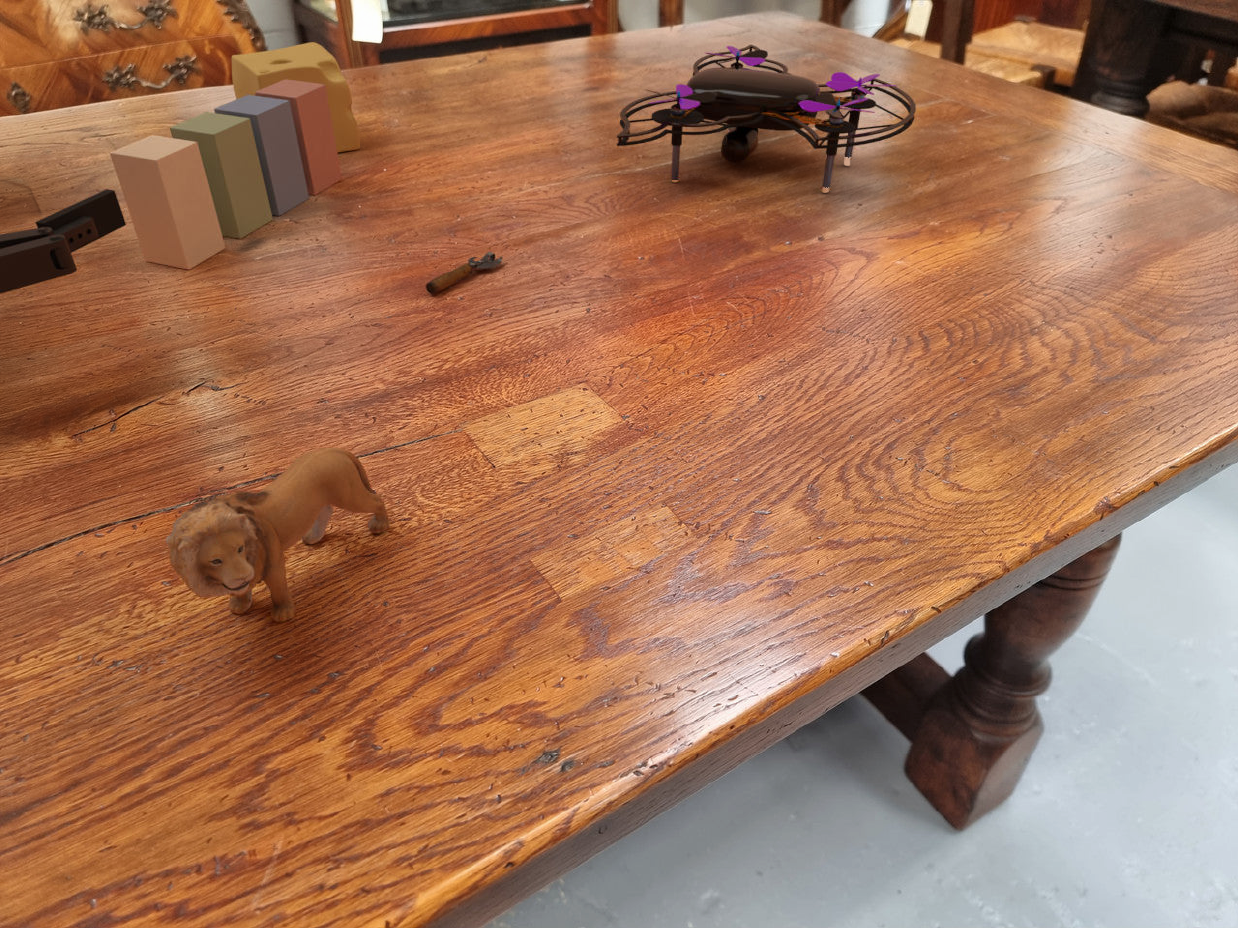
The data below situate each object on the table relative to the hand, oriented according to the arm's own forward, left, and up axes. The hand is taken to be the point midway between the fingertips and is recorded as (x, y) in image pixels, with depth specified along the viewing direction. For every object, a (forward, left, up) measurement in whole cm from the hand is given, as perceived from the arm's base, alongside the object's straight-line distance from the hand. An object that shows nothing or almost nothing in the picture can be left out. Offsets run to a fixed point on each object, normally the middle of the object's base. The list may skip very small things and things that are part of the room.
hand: (47, 194), depth 71 cm
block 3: (0, +24, -10) cm, 26 cm away
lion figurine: (+36, -21, -10) cm, 43 cm away
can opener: (+27, +17, -10) cm, 33 cm away
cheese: (-8, +40, -10) cm, 42 cm away
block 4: (0, +30, -10) cm, 32 cm away
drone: (+46, +54, -10) cm, 72 cm away
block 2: (0, +18, -10) cm, 21 cm away
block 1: (0, +11, -10) cm, 15 cm away
